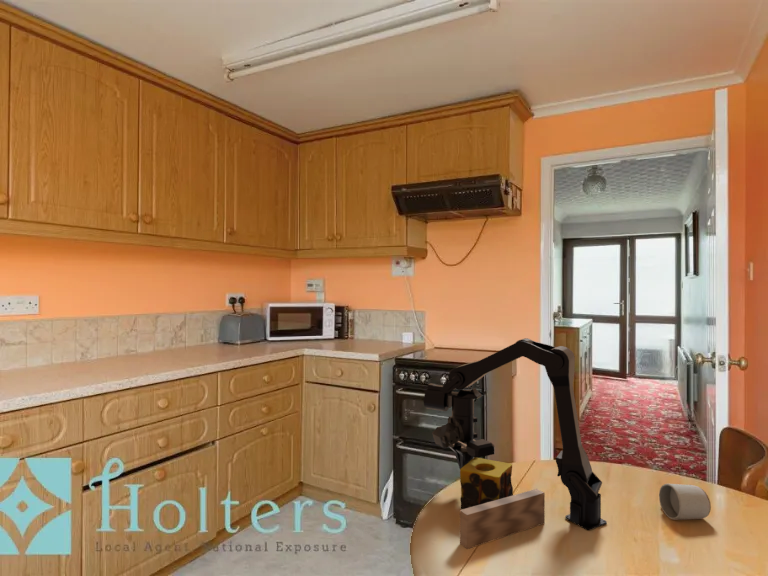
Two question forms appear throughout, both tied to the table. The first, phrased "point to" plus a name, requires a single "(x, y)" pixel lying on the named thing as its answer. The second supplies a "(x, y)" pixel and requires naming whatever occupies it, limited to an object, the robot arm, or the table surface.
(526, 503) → the brown wooden board
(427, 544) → the table surface
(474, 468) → the spotted yellow cube
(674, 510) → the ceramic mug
